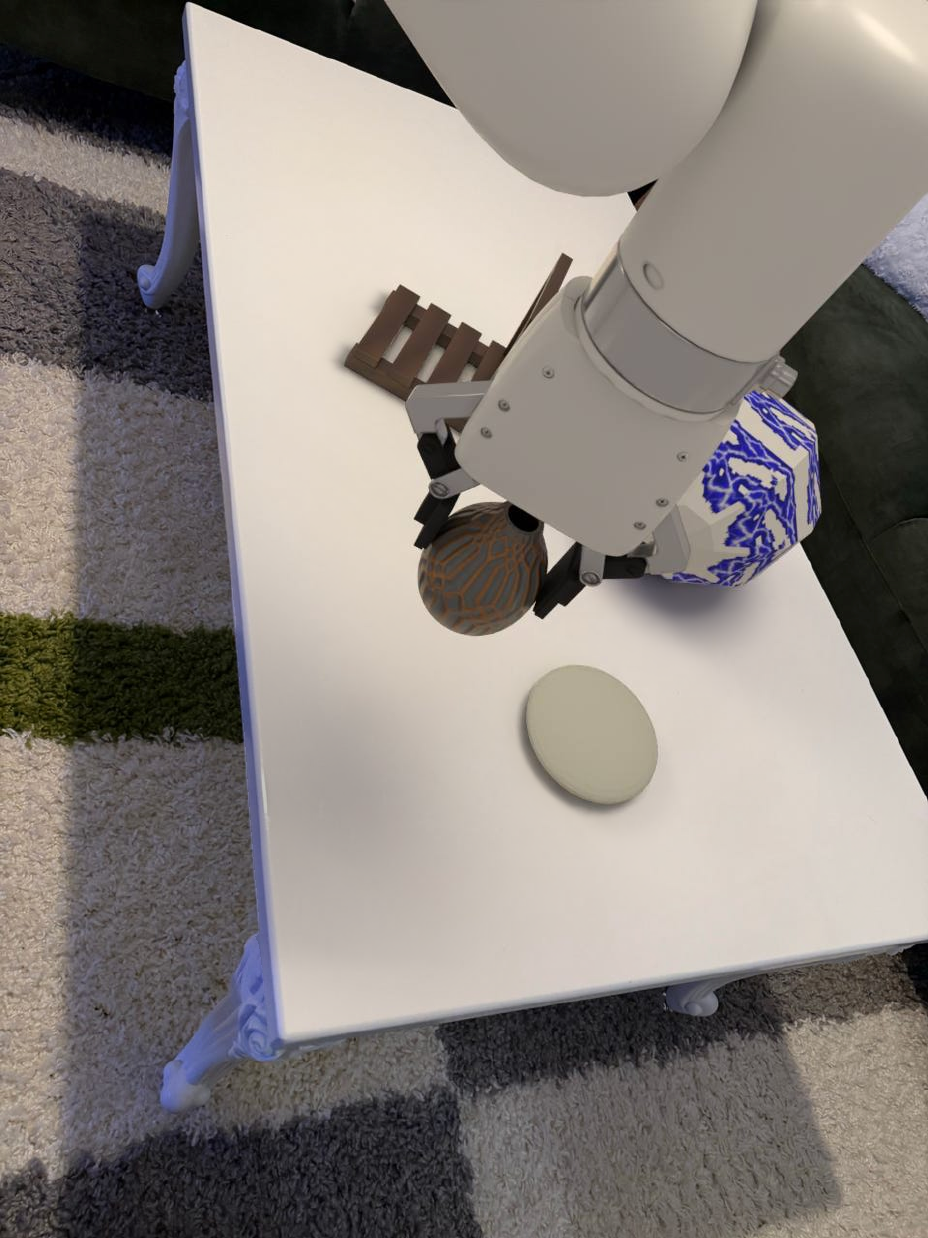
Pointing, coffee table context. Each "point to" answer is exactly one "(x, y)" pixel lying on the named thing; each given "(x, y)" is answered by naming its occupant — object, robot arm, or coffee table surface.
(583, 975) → the coffee table surface
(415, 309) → the rack
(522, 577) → the vase
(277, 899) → the coffee table surface
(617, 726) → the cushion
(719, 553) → the ornament
